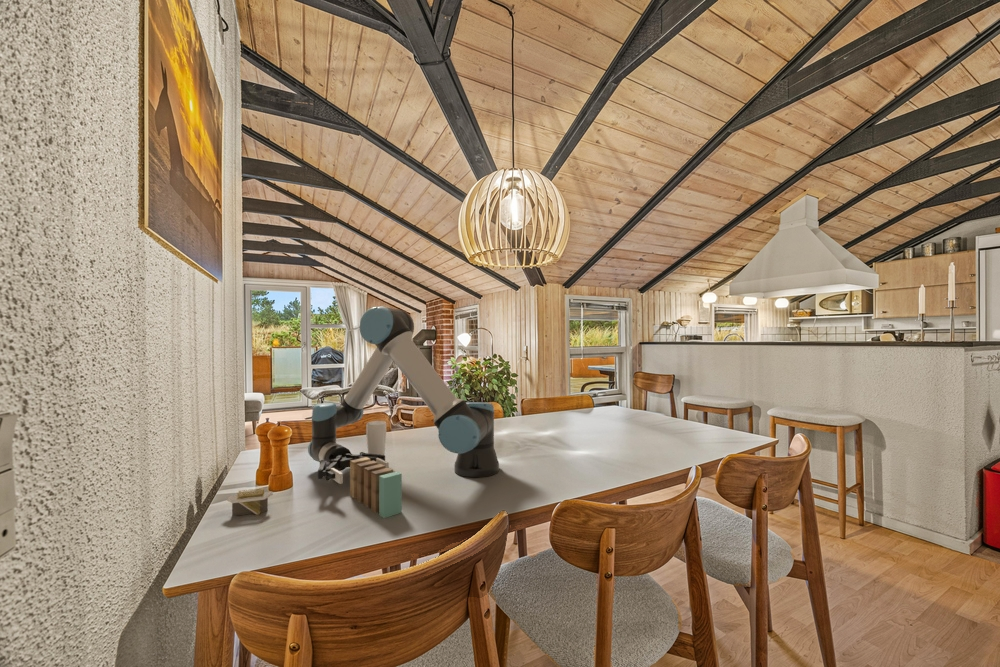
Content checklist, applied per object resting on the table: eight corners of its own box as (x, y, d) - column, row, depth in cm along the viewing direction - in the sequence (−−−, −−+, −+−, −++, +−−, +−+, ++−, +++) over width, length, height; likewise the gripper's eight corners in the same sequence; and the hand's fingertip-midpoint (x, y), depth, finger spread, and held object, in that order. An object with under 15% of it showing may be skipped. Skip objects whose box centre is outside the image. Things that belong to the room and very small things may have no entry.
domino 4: (388, 504, 109) (388, 467, 110) (393, 507, 108) (393, 469, 108) (371, 510, 106) (371, 471, 106) (375, 512, 104) (375, 473, 104)
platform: (284, 521, 101) (284, 494, 101) (198, 532, 95) (198, 504, 95) (292, 502, 112) (292, 478, 112) (215, 511, 106) (215, 486, 106)
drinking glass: (370, 469, 139) (370, 425, 139) (363, 464, 144) (363, 422, 144) (389, 465, 143) (389, 422, 143) (381, 460, 148) (381, 419, 148)
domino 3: (380, 499, 113) (381, 463, 113) (385, 502, 111) (385, 465, 111) (363, 505, 109) (363, 467, 109) (367, 507, 107) (367, 469, 108)
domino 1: (366, 491, 119) (366, 457, 119) (370, 493, 117) (370, 458, 117) (350, 495, 116) (350, 460, 116) (353, 498, 114) (353, 462, 114)
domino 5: (396, 509, 106) (396, 471, 106) (401, 512, 105) (401, 473, 105) (379, 515, 103) (379, 475, 103) (383, 518, 101) (383, 478, 101)
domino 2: (373, 495, 116) (373, 460, 116) (377, 497, 114) (377, 462, 114) (356, 500, 112) (356, 464, 112) (360, 502, 111) (360, 466, 111)
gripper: (372, 460, 138) (404, 475, 123) (293, 478, 121) (319, 498, 105) (372, 438, 138) (404, 450, 123) (293, 452, 121) (319, 469, 106)
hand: (365, 472), depth 114 cm, fingers open, 13 cm apart
